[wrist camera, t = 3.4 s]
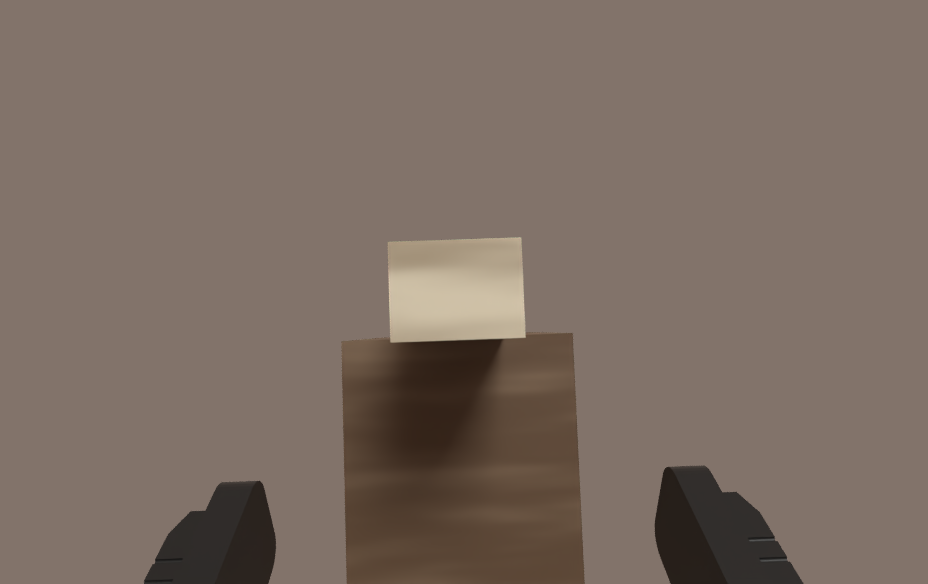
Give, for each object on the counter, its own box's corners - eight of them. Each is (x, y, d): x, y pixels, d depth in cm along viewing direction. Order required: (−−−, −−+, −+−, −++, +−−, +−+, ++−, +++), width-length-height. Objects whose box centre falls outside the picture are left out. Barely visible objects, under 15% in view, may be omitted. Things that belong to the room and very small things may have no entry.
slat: (525, 337, 17) (521, 237, 18) (390, 342, 17) (387, 241, 18) (487, 333, 39) (485, 289, 40) (427, 336, 39) (426, 291, 39)
